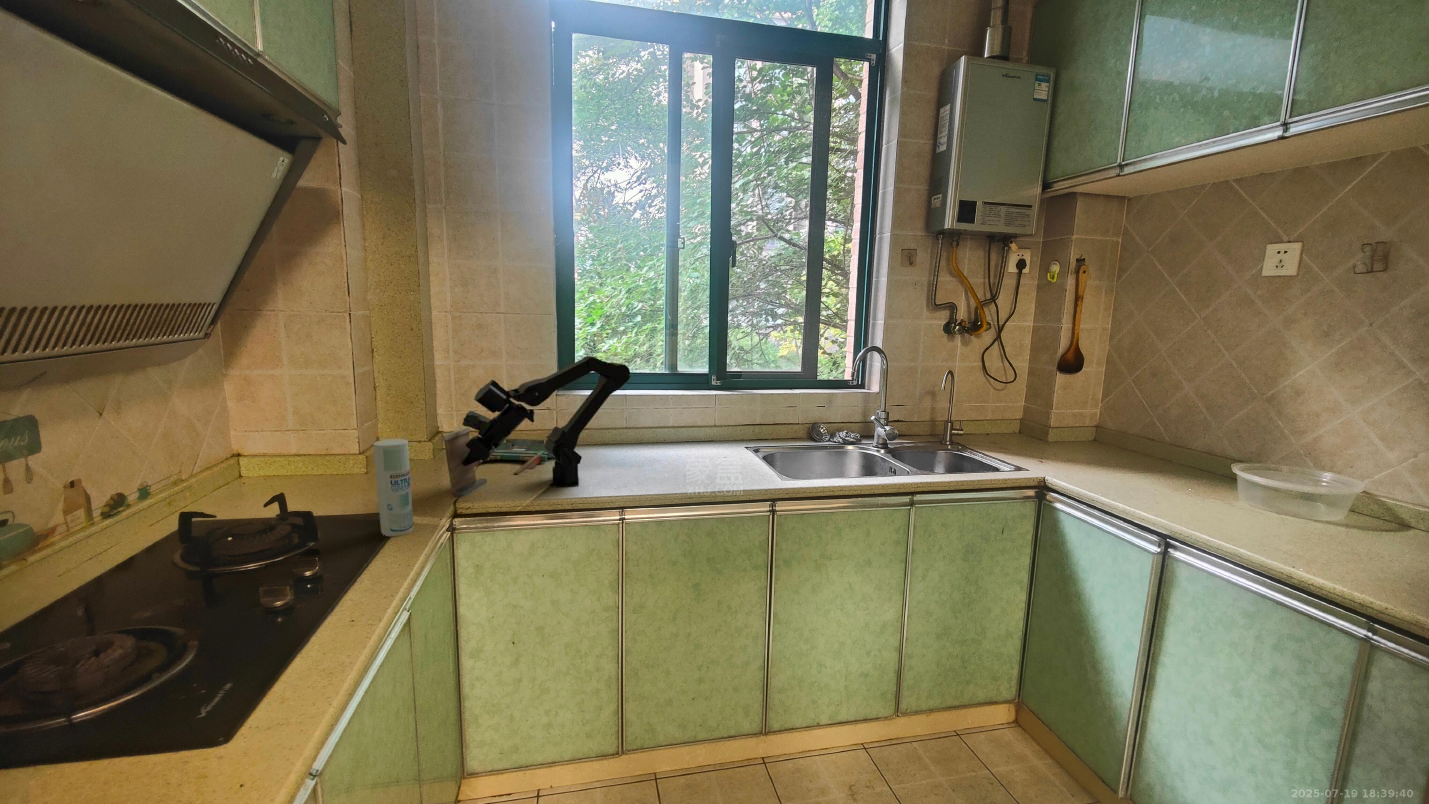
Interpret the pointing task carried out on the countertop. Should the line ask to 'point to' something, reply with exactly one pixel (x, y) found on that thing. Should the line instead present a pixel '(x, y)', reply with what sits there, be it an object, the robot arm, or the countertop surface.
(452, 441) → the fence panel
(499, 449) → the miniature gate
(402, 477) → the spray can
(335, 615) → the countertop surface
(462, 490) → the base
